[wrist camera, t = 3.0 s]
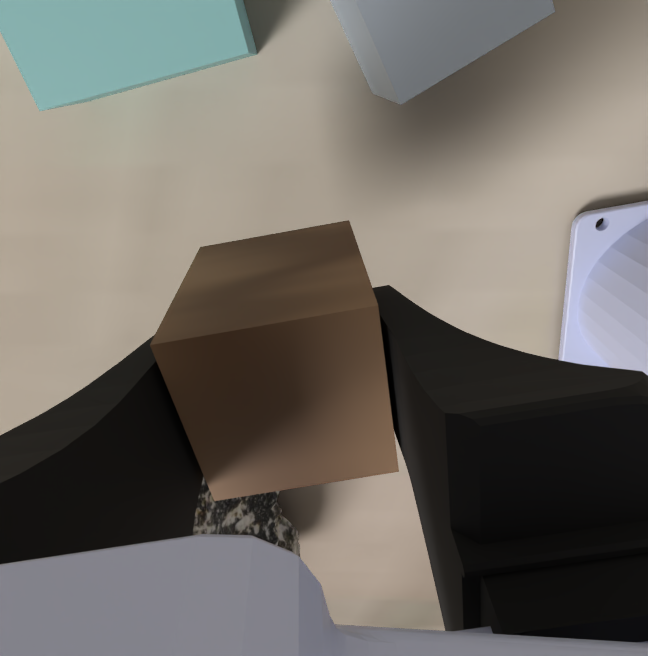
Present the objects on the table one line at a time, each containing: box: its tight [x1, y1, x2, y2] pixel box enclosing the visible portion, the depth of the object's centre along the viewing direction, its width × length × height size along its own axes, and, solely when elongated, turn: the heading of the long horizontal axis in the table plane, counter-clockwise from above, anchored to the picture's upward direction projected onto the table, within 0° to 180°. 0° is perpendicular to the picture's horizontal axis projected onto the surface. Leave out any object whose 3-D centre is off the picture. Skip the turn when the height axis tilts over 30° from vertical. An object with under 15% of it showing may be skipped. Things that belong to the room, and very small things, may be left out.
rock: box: [192, 477, 300, 557], centre depth 24 cm, size 13×10×10 cm
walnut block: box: [150, 220, 399, 501], centre depth 11 cm, size 4×4×5 cm
